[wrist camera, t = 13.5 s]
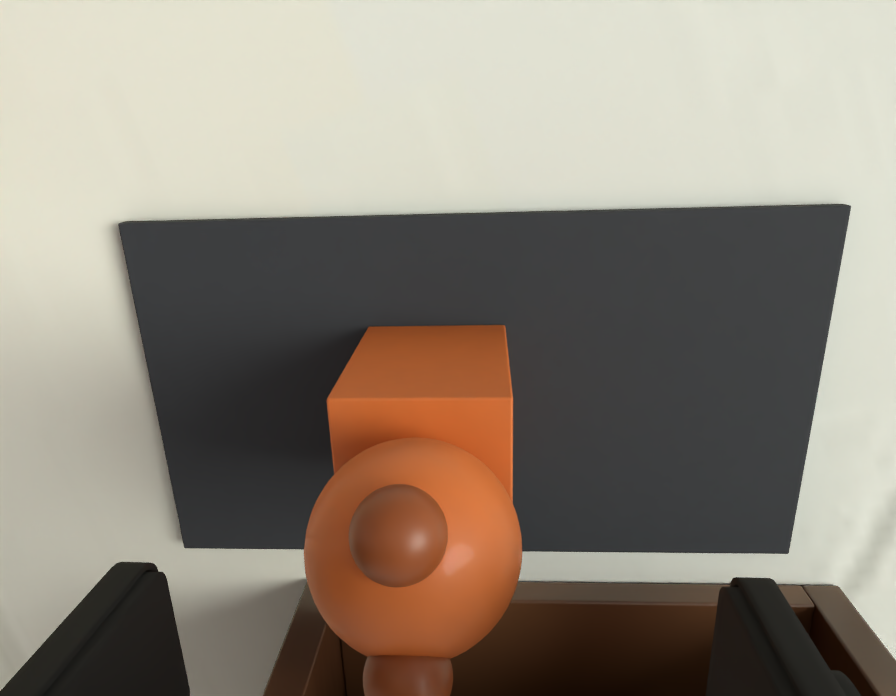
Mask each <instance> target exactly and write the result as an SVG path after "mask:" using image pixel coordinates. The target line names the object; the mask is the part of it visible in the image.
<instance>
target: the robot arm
mask: <svg viewBox="0 0 896 696" xmlns="http://www.w3.org/2000/svg"><path fill="white" fill-rule="evenodd" d="M0 696H190V689H189V684H188V679H187V674H186V669H185V665H184V660H183V655H182V650H181V645H180V640H179V636H178V631H177V626H176V621H175V616H174V612H173V607H172V602H171V597H170V592H169V588H168V583H167V578H166V576H165V574H164V573H163V572H158V569H157V567H156V566H155V564H153V563H141V562H120V563H116V564H115V565H114V566H113V567H112V568H111V569H110V570H109V571H108V572H107V573H106V574H105V576H104V577H103V578H102V579H101V580H100V581H99V582H98V583H97V584H96V586H95V587H94V588H93V589H92V590H91V591H90V592H89V593H88V594H87V596H86V597H85V598H84V599H83V600H82V601H81V602H80V603H79V604H78V606H77V607H76V608H75V609H74V610H73V611H72V612H71V613H70V614H69V616H68V617H67V618H66V619H65V620H64V621H63V622H62V623H61V624H60V625H59V627H58V628H57V629H56V630H55V631H54V632H53V633H52V634H51V635H50V637H49V638H48V639H47V640H46V641H45V642H44V643H43V644H42V645H41V647H40V648H39V649H38V650H37V651H36V652H35V653H34V654H33V655H32V657H31V658H30V659H29V660H28V661H27V662H26V663H25V664H24V665H23V667H22V668H21V669H20V670H19V671H18V672H17V673H16V674H15V675H14V677H13V678H12V679H11V680H10V681H9V682H8V683H7V684H6V685H5V687H4V688H3V689H2V690H1V691H0ZM706 696H861V695H860V693H859V692H858V690H857V689H856V687H855V686H854V684H853V683H852V682H851V681H850V679H849V678H848V677H847V676H846V675H845V674H843V673H842V672H840V671H836V670H830V669H829V667H828V665H827V664H826V662H825V660H824V659H823V657H822V656H821V654H820V652H819V651H818V649H817V648H816V646H815V644H814V643H813V641H812V640H811V638H810V636H809V635H808V633H807V632H806V630H805V628H804V627H803V625H802V624H801V622H800V620H799V619H798V617H797V616H796V614H795V612H794V611H793V609H792V608H791V606H790V604H789V603H788V601H787V600H786V598H785V596H784V595H783V593H782V592H781V590H780V588H779V587H778V585H777V584H776V583H775V581H774V580H772V579H770V578H737V577H736V578H733V579H732V581H731V583H730V587H721V589H720V591H719V596H718V604H717V612H716V619H715V627H714V635H713V642H712V650H711V658H710V665H709V673H708V681H707V688H706Z"/></svg>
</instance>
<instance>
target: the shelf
mask: <svg viewBox="0 0 896 696" xmlns="http://www.w3.org/2000/svg"><path fill="white" fill-rule="evenodd" d="M721 587H730V585H725V584H642V583H560V582H518V583H517V587H516V590H515V592H514V594H513V597H512V599H511V601H510V604H509V606H508V608H507V609H506V611H505V613H504V614H503V616H502V617H501V619H500V620H499V621H498V623H497V624H496V625H495V627H494V628H493V629H492V630H491V631H490V632H489V633H488V634H487V635H486V636H485V637H484V638H483V639H482V640H481V641H479V642H478V643H477V644H476V645H474V646H473V647H471V648H470V649H469V650H467V651H466V652H464V653H462V654H460V655H458V656H456V657H453V658H451V659H450V660H451V664H452V669H453V685H452V690H451V694H450V696H706V688H707V681H708V673H709V665H710V658H711V650H712V642H713V635H714V627H715V619H716V612H717V604H718V596H719V591H720V589H721ZM778 587H779V588H780V590H781V592H782V593H783V595H784V596H785V598H786V600H787V601H788V603H789V604H790V606H791V608H792V609H793V611H794V612H795V614H796V616H797V617H798V619H799V620H800V622H801V624H802V625H803V627H804V628H805V630H806V632H807V633H808V635H809V636H810V638H811V640H812V641H813V643H814V644H815V646H816V648H817V649H818V651H819V652H820V654H821V656H822V657H823V659H824V660H825V662H826V664H827V665H828V667H829V669H830V670H836V671H840V672H842V673H843V674H845V675H846V676H847V677H848V678H849V679H850V681H851V682H852V683H853V684H854V686H855V687H856V689H857V690H858V692H859V693H860V695H861V696H896V660H895V659H894V658H893V656H892V655H891V654H890V652H889V651H888V650H887V649H886V647H885V646H884V645H883V643H882V642H881V641H880V639H879V638H878V637H877V636H876V634H875V633H874V632H873V630H872V629H871V628H870V627H869V625H868V624H867V623H866V621H865V620H864V619H863V617H862V616H861V615H860V614H859V612H858V611H857V610H856V608H855V607H854V606H853V604H852V603H851V602H850V601H849V599H848V598H847V597H846V595H845V594H844V593H843V592H842V590H841V589H840V588H839V587H838V586H808V585H805V586H803V587H801V586H799V585H778ZM366 660H367V656H365V655H363V654H361V653H359V652H358V651H356V650H355V649H353V648H352V647H350V646H349V645H348V644H347V643H345V642H344V641H343V640H342V639H341V638H340V637H338V636H337V635H336V634H335V633H334V631H333V630H332V629H331V628H330V627H329V626H328V624H327V623H326V621H325V620H324V619H323V617H322V615H321V614H320V612H319V610H318V608H317V607H316V605H315V603H314V600H313V597H312V595H311V592H310V589H309V586H308V582H307V583H306V585H305V588H304V591H303V593H302V596H301V598H300V601H299V603H298V606H297V608H296V611H295V614H294V616H293V619H292V621H291V624H290V626H289V629H288V632H287V634H286V637H285V639H284V642H283V644H282V647H281V649H280V652H279V655H278V657H277V660H276V662H275V665H274V667H273V670H272V673H271V675H270V678H269V680H268V683H267V685H266V688H265V690H264V693H263V696H365V694H364V689H363V672H364V666H365V663H366Z"/></svg>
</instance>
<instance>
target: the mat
mask: <svg viewBox="0 0 896 696" xmlns="http://www.w3.org/2000/svg"><path fill="white" fill-rule="evenodd" d="M850 209H851V206H849V205H845V204H822V205H781V206H740V207H700V208H659V209H618V210H577V211H536V212H495V213H454V214H413V215H372V216H331V217H290V218H249V219H208V220H167V221H127V222H122V223H119V230H120V235H121V240H122V245H123V250H124V255H125V259H126V264H127V269H128V274H129V279H130V284H131V289H132V294H133V299H134V303H135V308H136V313H137V318H138V323H139V328H140V333H141V338H142V343H143V347H144V352H145V357H146V362H147V367H148V372H149V377H150V382H151V386H152V391H153V396H154V401H155V406H156V411H157V416H158V421H159V426H160V430H161V435H162V440H163V445H164V450H165V455H166V460H167V465H168V470H169V474H170V479H171V484H172V489H173V494H174V499H175V504H176V509H177V514H178V518H179V523H180V528H181V533H182V538H183V543H184V547H185V548H224V549H304V546H305V537H306V529H307V526H308V522H309V518H310V515H311V512H312V509H313V507H314V505H315V503H316V501H317V498H318V497H319V495H320V493H321V492H322V490H323V489H324V487H325V485H326V484H327V482H328V481H329V480H330V479H331V478H332V477H333V475H334V468H333V459H332V449H331V440H330V430H329V420H328V411H327V401H326V400H327V398H328V396H329V394H330V393H331V391H332V389H333V387H334V386H335V384H336V382H337V380H338V379H339V377H340V375H341V374H342V372H343V370H344V368H345V367H346V365H347V363H348V362H349V360H350V358H351V356H352V355H353V353H354V351H355V349H356V348H357V346H358V344H359V343H360V341H361V339H362V337H363V336H364V334H365V332H366V330H367V329H368V327H378V326H458V325H504V326H505V328H506V337H507V347H508V356H509V366H510V375H511V385H512V394H513V506H514V508H515V511H516V513H517V517H518V521H519V526H520V530H521V537H522V551H555V552H665V553H776V554H788V553H789V548H790V542H791V537H792V531H793V526H794V520H795V515H796V509H797V503H798V498H799V492H800V487H801V481H802V476H803V470H804V465H805V459H806V453H807V448H808V442H809V437H810V431H811V426H812V420H813V415H814V409H815V403H816V398H817V392H818V387H819V381H820V376H821V370H822V365H823V359H824V354H825V348H826V342H827V337H828V331H829V326H830V320H831V315H832V309H833V304H834V298H835V292H836V287H837V281H838V276H839V270H840V265H841V259H842V254H843V248H844V243H845V237H846V231H847V226H848V220H849V215H850Z"/></svg>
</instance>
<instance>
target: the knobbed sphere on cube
mask: <svg viewBox="0 0 896 696" xmlns="http://www.w3.org/2000/svg"><path fill="white" fill-rule="evenodd" d="M326 401H327V411H328V420H329V430H330V440H331V449H332V459H333V468H334V475H333V477H332V478H331V479H330V480H329V481H328V482H327V484H326V485H325V487H324V489H323V490H322V492H321V493H320V495H319V497H318V498H317V501H316V503H315V505H314V507H313V509H312V512H311V515H310V518H309V522H308V526H307V529H306V537H305V546H304V562H305V573H306V578H307V582H308V586H309V589H310V592H311V595H312V597H313V600H314V603H315V605H316V607H317V608H318V610H319V612H320V614H321V615H322V617H323V619H324V620H325V621H326V623H327V624H328V626H329V627H330V628H331V629H332V630H333V631H334V633H335V634H336V635H337V636H338V637H340V638H341V639H342V640H343V641H344V642H345V643H347V644H348V645H349V646H350V647H352V648H353V649H355V650H356V651H358V652H359V653H361V654H363V655H365V656H367V660H366V663H365V666H364V672H363V689H364V694H365V696H450V694H451V690H452V685H453V669H452V664H451V660H450V659H451V658H453V657H456V656H458V655H460V654H462V653H464V652H466V651H467V650H469V649H470V648H471V647H473V646H474V645H476V644H477V643H478V642H479V641H481V640H482V639H483V638H484V637H485V636H486V635H487V634H488V633H489V632H490V631H491V630H492V629H493V628H494V627H495V625H496V624H497V623H498V621H499V620H500V619H501V617H502V616H503V614H504V613H505V611H506V609H507V608H508V606H509V604H510V601H511V599H512V597H513V594H514V592H515V590H516V587H517V583H518V579H519V575H520V570H521V562H522V537H521V530H520V526H519V521H518V517H517V513H516V511H515V508H514V506H513V394H512V385H511V375H510V366H509V356H508V347H507V337H506V328H505V326H504V325H458V326H378V327H368V329H367V330H366V332H365V334H364V336H363V337H362V339H361V341H360V343H359V344H358V346H357V348H356V349H355V351H354V353H353V355H352V356H351V358H350V360H349V362H348V363H347V365H346V367H345V368H344V370H343V372H342V374H341V375H340V377H339V379H338V380H337V382H336V384H335V386H334V387H333V389H332V391H331V393H330V394H329V396H328V398H327V400H326Z"/></svg>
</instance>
